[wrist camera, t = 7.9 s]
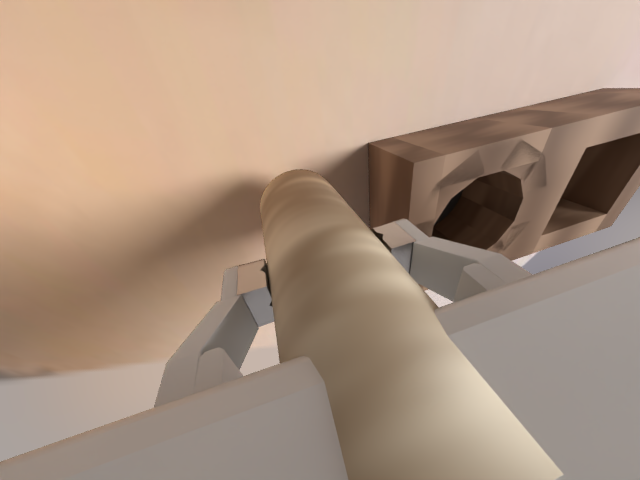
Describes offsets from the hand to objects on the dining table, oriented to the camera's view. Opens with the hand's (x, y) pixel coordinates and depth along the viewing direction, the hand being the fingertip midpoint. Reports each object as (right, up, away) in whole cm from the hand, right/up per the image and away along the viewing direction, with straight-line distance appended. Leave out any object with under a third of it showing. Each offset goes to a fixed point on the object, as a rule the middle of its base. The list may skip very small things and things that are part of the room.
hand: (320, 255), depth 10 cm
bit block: (+13, +6, +10) cm, 18 cm away
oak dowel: (-1, +3, +4) cm, 5 cm away
